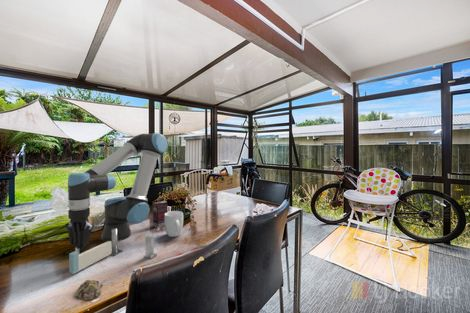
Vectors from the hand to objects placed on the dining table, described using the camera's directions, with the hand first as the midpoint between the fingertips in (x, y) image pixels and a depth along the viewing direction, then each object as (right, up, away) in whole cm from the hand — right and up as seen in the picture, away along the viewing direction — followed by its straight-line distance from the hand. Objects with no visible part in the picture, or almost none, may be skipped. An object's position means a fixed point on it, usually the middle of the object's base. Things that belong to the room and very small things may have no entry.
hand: (79, 260), depth 91 cm
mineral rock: (+17, -3, -17) cm, 24 cm away
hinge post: (+9, -2, +11) cm, 14 cm away
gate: (+5, -1, +1) cm, 5 cm away
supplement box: (+18, -1, +49) cm, 53 cm away
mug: (+32, -2, +33) cm, 46 cm away
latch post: (+28, -2, +8) cm, 29 cm away
